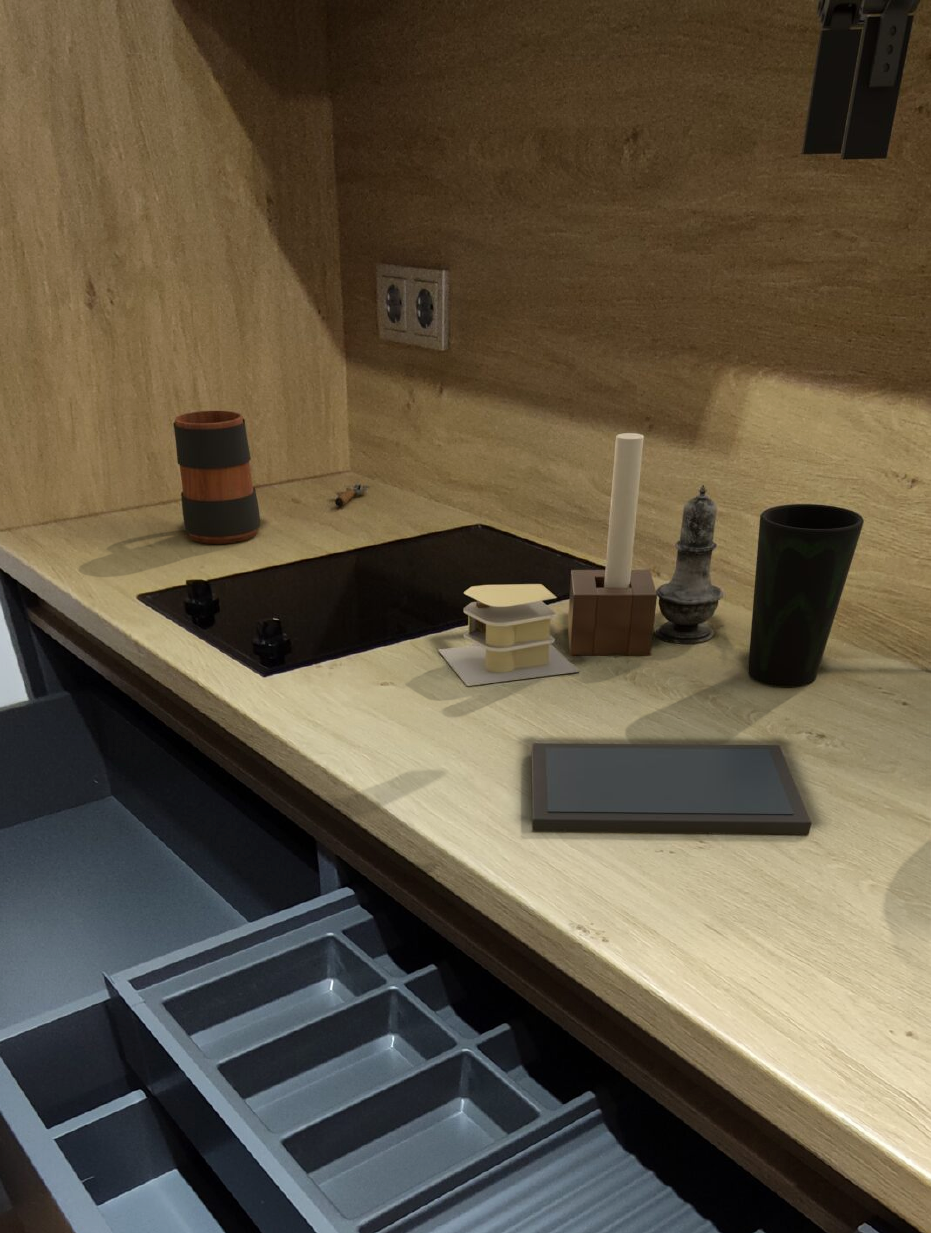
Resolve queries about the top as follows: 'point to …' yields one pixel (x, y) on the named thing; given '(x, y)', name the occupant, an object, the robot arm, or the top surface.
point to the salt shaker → (691, 577)
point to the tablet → (665, 789)
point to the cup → (798, 589)
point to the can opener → (349, 494)
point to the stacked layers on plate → (507, 636)
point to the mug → (216, 477)
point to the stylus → (623, 509)
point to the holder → (611, 614)
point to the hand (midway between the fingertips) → (840, 156)
